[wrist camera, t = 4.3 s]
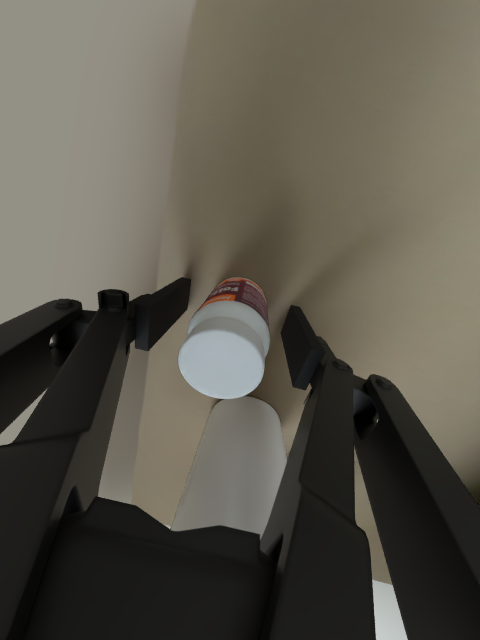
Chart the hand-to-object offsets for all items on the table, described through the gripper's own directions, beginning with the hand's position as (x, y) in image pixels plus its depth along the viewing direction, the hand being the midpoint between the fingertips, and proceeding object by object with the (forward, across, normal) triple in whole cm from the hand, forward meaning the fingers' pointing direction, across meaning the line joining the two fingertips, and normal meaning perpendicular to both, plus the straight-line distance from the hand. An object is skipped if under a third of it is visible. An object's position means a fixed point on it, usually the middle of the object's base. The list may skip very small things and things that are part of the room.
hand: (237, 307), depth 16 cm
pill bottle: (0, 0, 0) cm, 0 cm away
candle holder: (+1, +4, -14) cm, 14 cm away
